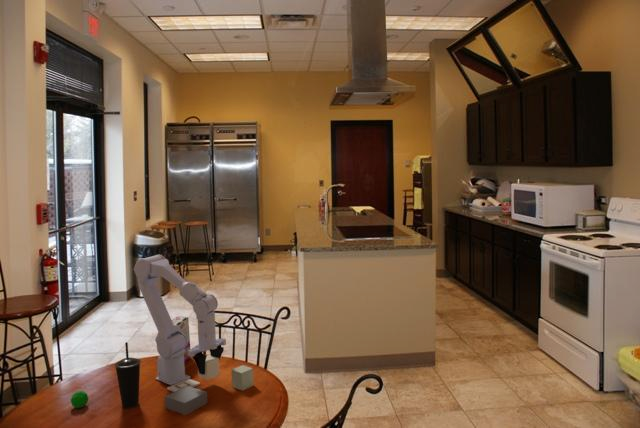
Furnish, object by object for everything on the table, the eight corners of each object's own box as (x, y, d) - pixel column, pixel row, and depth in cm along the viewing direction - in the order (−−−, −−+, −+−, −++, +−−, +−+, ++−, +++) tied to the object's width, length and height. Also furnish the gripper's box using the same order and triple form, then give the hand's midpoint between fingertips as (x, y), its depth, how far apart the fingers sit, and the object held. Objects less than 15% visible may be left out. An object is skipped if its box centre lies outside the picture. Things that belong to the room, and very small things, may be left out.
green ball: (71, 405, 163) (70, 390, 162) (88, 401, 165) (87, 387, 164) (71, 411, 158) (70, 396, 158) (88, 408, 160) (87, 393, 160)
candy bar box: (179, 356, 202) (177, 315, 201) (191, 357, 201) (189, 316, 200) (165, 367, 192) (163, 324, 190) (178, 368, 191) (175, 325, 189)
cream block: (198, 376, 174) (197, 359, 174) (209, 371, 178) (209, 354, 178) (207, 380, 171) (207, 362, 171) (219, 375, 175) (218, 357, 174)
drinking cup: (118, 412, 157) (114, 348, 155) (116, 402, 164) (111, 341, 162) (145, 406, 160) (141, 344, 158) (141, 397, 167) (137, 337, 165)
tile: (167, 389, 172) (167, 387, 172) (189, 380, 179) (189, 378, 179) (178, 394, 169) (178, 391, 169) (200, 384, 176) (200, 382, 176)
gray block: (165, 408, 159) (164, 396, 159) (187, 397, 167) (186, 385, 166) (185, 415, 154) (184, 403, 154) (207, 404, 162) (206, 391, 161)
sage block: (232, 387, 173) (231, 369, 172) (243, 382, 177) (242, 365, 176) (242, 390, 170) (241, 373, 169) (253, 385, 174) (252, 368, 173)
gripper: (196, 340, 165) (198, 381, 166) (231, 328, 176) (232, 366, 178) (183, 335, 170) (185, 375, 171) (217, 324, 181) (219, 362, 182)
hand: (208, 371), depth 175 cm, fingers closed on cream block, 5 cm apart
